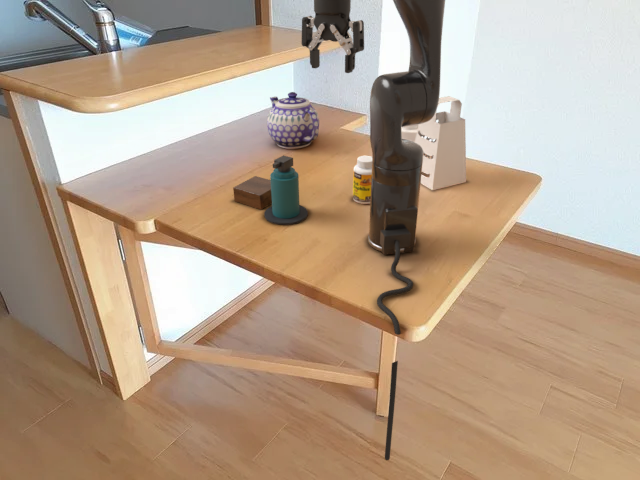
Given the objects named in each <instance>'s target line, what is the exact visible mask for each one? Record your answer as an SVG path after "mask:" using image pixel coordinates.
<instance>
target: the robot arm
mask: <svg viewBox="0 0 640 480" xmlns="http://www.w3.org/2000/svg"><path fill="white" fill-rule="evenodd" d="M392 1H393V2H392V3H393V4H394V7H395V9H396V11H397V13H398V14H399V17H400V19H401V21H402V24H403V26H404V28H405V30H406V33H407V37H408V41H409V65H408V70H407V71H397V72H391V73H384V74H381V75H378V76H377V77H376V78H375V80H374V81H373V82H372V86H371V89H370V96H369V117H370V118H369V119H370V120H369V122H370V123H369V125H370V126H369V129H370V131H369V141H370V148H371V156H372V177H371V199H370V204H369V222H368V223H369V225H368V226H369V227H368V237H367V243H368V244H369V246H370V247H371V248H373V249H374V250H376V251H379V252H380V253H382V254H383V255H384V256H386V255H394V259H393V261H392V263H391V265H390V271H391V274H392V276H393V277H394V278H395V279H397V280H399V281H401V282H403V283H405V284H407V285H406V286H404V287H400V288H396V289H391V290H387V291H384V292H381V293H380V294H379V295H378V297H377V299H376V305H377V307H378V308H379V309H380V310H381V312H383V313H385V314H386V315H387V316H388V317H389V319H390V320H391V323H392V325H393V328H394V333H395V334H394V335H396V336H400V335H401V327H400V322H399V320H398V318H397V316H396V315H395V313H394V312H393V311H392V310H391V309H390V308H389V307H387V306H386V305H385V304H384V303H383V301H384V299H386V298H387V297H391V296H396V295H402V294H405V293H408V292H410V291H411V290H412V289H413V287H414V282H413V280H412V279H411V278H408V277H407V276H404V275H401V274H400V273H398V272H397V267H398V264H399V262H400V259H401V254H403V253H412V252H413V253H414V252H415V246H416V242H417V241H416V240H417V237H416V234H417V224H418V214H419V213H418V212H419V203H420V194H421V174H422V173H423V172H422V163H423V156H424V153H423V149H422V147H421V146H420V145H418V144H417V143H415V142H412V141H409V140H406V139H402V133H401V128H402V127H405V126H411V125H417V124H422V123H426V122H428V121H430V120H431V119H432V118H433V116H434V115H435V113H437V109H438V108H439V106H438V102H439V98H440V94H441V71H442V70H441V69H442V68H441V66H442V63H441V62H442V41H443V40H442V38H443V37H442V36H443V28H444V15H445V7H446V0H392ZM351 3H352V0H313V11H314V14H315V15H314V17H313V16H312V15H307V16H303V17H302V18H301V46H302V47H305V48H306V49H308V50H309V64H310V66H311V69H318V68H320V66H321V60H320V59H321V57H320V55H321V53H320V52H321V51H320V49H319V48H320V46H321V45H322V44H323V42H324V41H325V42H328V41H331V42H335V43H338V44H339V46H341V47H342V48H343V51H344V52H345V55H344V74H350V73H352V72H353V71H354V70H355V68H356V54H357V53H360V52H363V51H364V50H365V21H364V20H363V19H359V20H351V18H350V17H351V16H350V15H351V9H352V8H351ZM314 27H315V29H316V31H315V33H314V35H313V32H314V30H313V29H314ZM350 29H351V30H350ZM349 30H350V31H351V32H352V36H351V34H350V32H349ZM422 175H423V174H422ZM398 364H399V361H398V360H395V361H393V362H392V363H391V369H390V370H391V371H390V372H391V373H390V384H389V386H390V387H389V389H390V390H389V398H388V399H389V400H388V412H387V423H386V425H387V427H386V437H385V449H384V460H385V461H389V460H390V459H391V447H392V439H393V438H392V436H393V427H394V426H393V425H394V416H395V415H394V414H395V402H396V391H397V377H398Z"/></svg>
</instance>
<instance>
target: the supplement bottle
mask: <svg viewBox="0 0 640 480" xmlns="http://www.w3.org/2000/svg"><path fill="white" fill-rule="evenodd" d="M356 160H357V161H356V164H355V165H354V166H353V173H352V199H353V201H354V202H355V203H357V204H362V205H370V199H371V177H372V155H360V156H358V157H357V159H356Z"/></svg>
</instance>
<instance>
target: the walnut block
mask: <svg viewBox="0 0 640 480" xmlns="http://www.w3.org/2000/svg"><path fill="white" fill-rule="evenodd" d="M232 191H233V199H234V200H233V201H234V202H236V203H240V204H242V205H246V206H248V207H252V208H255V209H258V210H263V209H264V208H266V207H268V206H269V205H272V196H271V179H269V178H264V177H261V176H258V175H254V176H253V177H251V178H248V179H247V180H244V181H243V182H240V183H239V184H237V185H235V186H233V187H232Z"/></svg>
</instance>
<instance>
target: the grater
mask: <svg viewBox="0 0 640 480" xmlns="http://www.w3.org/2000/svg"><path fill="white" fill-rule="evenodd" d="M448 102H450V110H449V112H448V111H439V112H436V113H435V115H434V116H433V118H432V119H431V120H430V121H428V122H426V123H422V124H419V126H418V130H417V134H416V139H415V143H417V144H418V145H420V146H421V147H422V149H423V163H422V173H424V174H426V175H429V176H425V175H424V174H421V183H420V185H423V186H424V187H426V188H427V189H429V190H431V191H435V190H440V189H444V188H448V187H451V186H455V185H459V184H463V183H466V182H467V150H466V149H467V148H466V147H467V146H466V145H467V144H466V119H465V118H464V117H461V112H462V105H463V103H462V102H461V100H460V99H459V98H455V97H452V96H449V95H448V96H443V97H439V102H438V107H439V106H440V104H443V103H448ZM437 121H438V122H437ZM425 137H426V138H425ZM430 157H431V158H430Z"/></svg>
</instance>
